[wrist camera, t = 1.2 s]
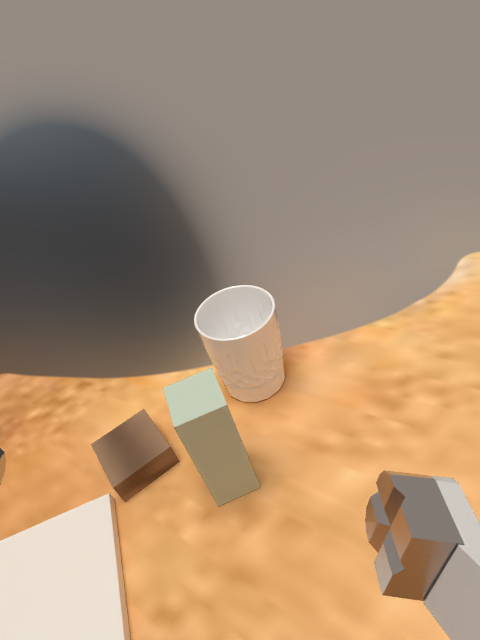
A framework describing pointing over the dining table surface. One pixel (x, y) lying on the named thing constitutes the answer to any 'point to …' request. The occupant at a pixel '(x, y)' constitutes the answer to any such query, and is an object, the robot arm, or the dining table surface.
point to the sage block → (211, 436)
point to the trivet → (65, 578)
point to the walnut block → (134, 455)
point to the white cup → (243, 341)
